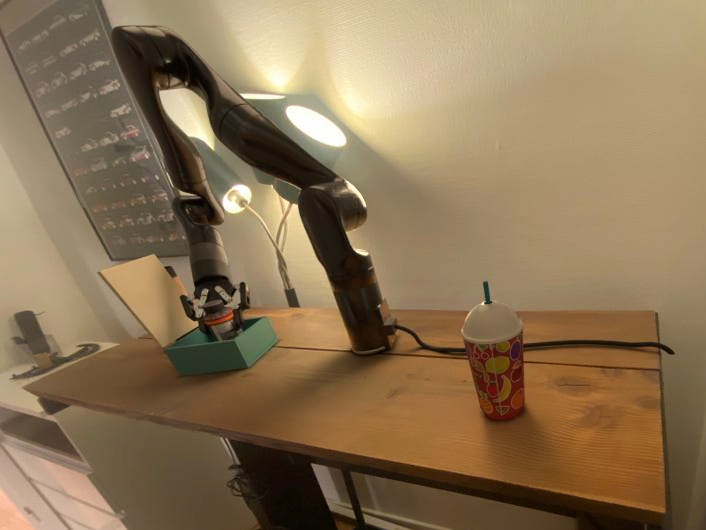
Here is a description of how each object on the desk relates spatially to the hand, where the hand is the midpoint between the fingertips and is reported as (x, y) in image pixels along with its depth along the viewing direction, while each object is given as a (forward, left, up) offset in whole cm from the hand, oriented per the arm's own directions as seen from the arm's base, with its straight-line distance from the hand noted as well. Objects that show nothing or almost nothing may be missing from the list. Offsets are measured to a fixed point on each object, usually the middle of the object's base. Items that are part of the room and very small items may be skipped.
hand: (223, 330), depth 84 cm
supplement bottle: (+1, -2, -5) cm, 6 cm away
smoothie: (-61, +30, -8) cm, 69 cm away
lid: (+12, -1, +8) cm, 15 cm away
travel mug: (+22, -14, -8) cm, 27 cm away
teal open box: (+3, -1, -8) cm, 8 cm away
